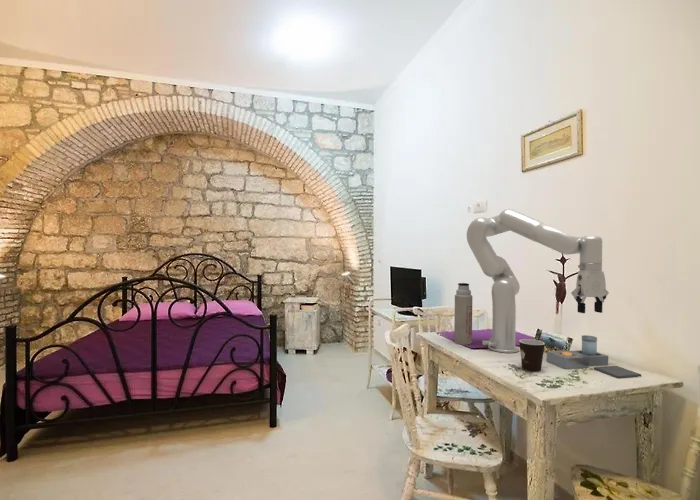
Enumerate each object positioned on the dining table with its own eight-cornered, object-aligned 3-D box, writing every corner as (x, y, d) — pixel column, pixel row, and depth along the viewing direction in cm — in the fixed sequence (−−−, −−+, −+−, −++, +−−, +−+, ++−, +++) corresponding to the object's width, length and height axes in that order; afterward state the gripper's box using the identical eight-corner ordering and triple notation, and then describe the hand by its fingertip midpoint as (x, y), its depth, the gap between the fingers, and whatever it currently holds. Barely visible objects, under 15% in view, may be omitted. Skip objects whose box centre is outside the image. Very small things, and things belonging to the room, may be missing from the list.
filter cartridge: (588, 364, 150) (588, 338, 150) (578, 360, 155) (578, 335, 155) (600, 363, 151) (600, 338, 151) (589, 359, 156) (589, 335, 156)
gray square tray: (588, 366, 148) (588, 357, 148) (570, 359, 156) (570, 350, 156) (608, 364, 149) (608, 355, 149) (589, 358, 158) (589, 349, 158)
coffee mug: (545, 373, 138) (546, 346, 138) (519, 370, 141) (519, 343, 141) (541, 364, 149) (542, 338, 149) (517, 362, 152) (518, 336, 152)
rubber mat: (617, 378, 134) (617, 376, 134) (593, 369, 144) (593, 367, 144) (641, 376, 136) (641, 374, 136) (616, 367, 146) (616, 365, 146)
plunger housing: (565, 369, 144) (565, 358, 144) (546, 361, 153) (546, 351, 153) (588, 367, 146) (588, 357, 146) (568, 359, 156) (568, 350, 155)
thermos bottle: (475, 343, 180) (476, 283, 180) (462, 345, 177) (463, 284, 176) (463, 339, 187) (463, 282, 187) (450, 341, 184) (451, 282, 183)
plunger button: (566, 363, 147) (566, 354, 147) (559, 361, 151) (559, 352, 151) (574, 363, 148) (574, 354, 148) (567, 360, 152) (567, 351, 152)
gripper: (579, 268, 147) (578, 314, 147) (617, 268, 150) (616, 313, 151) (564, 267, 154) (563, 311, 154) (601, 267, 158) (600, 310, 158)
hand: (589, 312), depth 153 cm, fingers open, 7 cm apart
